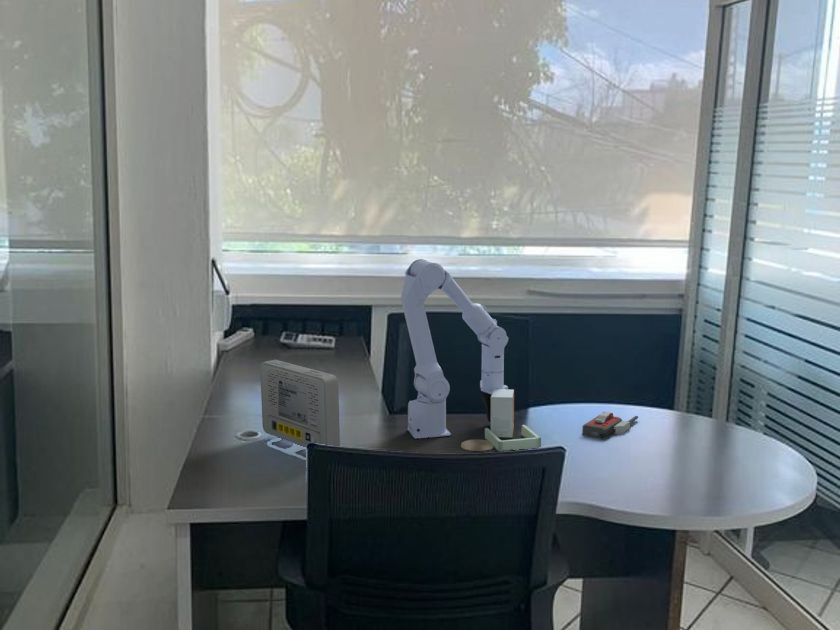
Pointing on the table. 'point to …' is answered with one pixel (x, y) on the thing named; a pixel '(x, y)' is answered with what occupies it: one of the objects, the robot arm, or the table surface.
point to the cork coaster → (477, 445)
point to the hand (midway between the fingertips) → (492, 421)
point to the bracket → (515, 440)
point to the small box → (502, 412)
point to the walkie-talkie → (606, 426)
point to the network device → (299, 404)
